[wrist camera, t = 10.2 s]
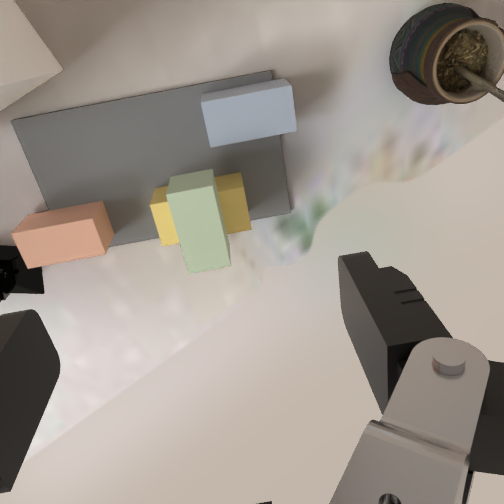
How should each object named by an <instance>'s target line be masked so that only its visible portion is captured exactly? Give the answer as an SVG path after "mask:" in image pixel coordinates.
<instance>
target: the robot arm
mask: <svg viewBox="0 0 504 504" xmlns="http://www.w3.org/2000/svg"><path fill="white" fill-rule="evenodd" d="M338 271H339V284H340V298H341V309H342V314H343V319H344V323H345V326H346V329H347V331H348V334H349V336H350V338H351V341H352V343H353V346H354V348H355V350H356V353H357V355H358V357H359V360H360V362H361V365H362V367H363V369H364V372H365V374H366V377H367V379H368V381H369V384H370V386H371V389H372V391H373V393H374V396H375V398H376V400H377V403H378V405H379V408H380V410H381V413H382V415H383V416H382V418H381V420H380V421H379V422H378V421H376V420H371V421H370V422H369V423H368V424H367V426H366V428H365V430H364V431H363V434H362V436H361V438H360V440H359V442H358V444H357V446H356V448H355V450H354V453H353V455H352V457H351V459H350V461H349V463H348V466H347V468H346V470H345V472H344V474H343V476H342V478H341V480H340V482H339V484H338V486H337V489H336V491H335V493H334V495H333V497H332V499H331V501H330V503H329V504H468V501H469V496H470V492H471V487H472V483H473V478H474V474H475V471H477V472H484V473H491V474H498V475H504V363H501V362H494V361H489V360H487V358H486V357H485V355H484V354H483V353H482V352H481V351H480V350H479V349H477V348H476V347H474V346H473V345H471V344H469V343H467V342H464V341H461V340H458V339H453V337H452V336H451V335H450V333H449V332H448V331H447V329H446V328H445V326H444V325H443V324H442V322H441V321H440V320H439V319H438V317H437V315H436V314H435V313H434V311H433V310H432V309H431V307H430V306H429V305H428V303H427V302H426V301H424V298H423V296H422V295H421V294H420V292H419V291H417V289H416V287H415V285H414V284H413V283H412V281H411V280H410V279H409V277H408V276H407V275H406V274H404V273H402V272H400V271H399V270H397V269H395V268H394V267H392V266H390V267H385V268H378V266H377V265H376V263H375V262H374V260H373V258H372V257H371V255H370V254H369V252H367V251H365V252H360V253H354V254H348V255H343V256H339V257H338ZM59 374H60V360H59V356H58V353H57V351H56V349H55V347H54V345H53V342H52V340H51V338H50V336H49V334H48V332H47V330H46V328H45V326H44V324H43V322H42V320H41V318H40V316H39V314H38V313H37V312H36V311H35V310H32V309H30V310H24V311H19V312H13V313H7V314H2V315H1V316H0V493H5V492H10V491H11V489H12V487H13V484H14V482H15V480H16V477H17V475H18V472H19V470H20V467H21V465H22V463H23V461H24V458H25V456H26V454H27V451H28V449H29V446H30V444H31V442H32V439H33V437H34V435H35V432H36V430H37V427H38V425H39V423H40V420H41V418H42V416H43V413H44V411H45V408H46V406H47V404H48V401H49V399H50V397H51V394H52V392H53V389H54V387H55V385H56V382H57V380H58V377H59ZM259 504H272V501H270V502H264V503H259Z"/></svg>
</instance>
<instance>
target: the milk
mask: <svg viewBox="0 0 504 504" xmlns="http://www.w3.org/2000/svg"><path fill="white" fill-rule="evenodd" d="M61 71H63V69H62V67H61V66H60V64H59V63H58V62H57V60H56V59H55V57H54V56H53V55H52V53H51V52H50V50H49V49H48V48H47V46H46V45H45V43H44V42H43V41H42V39H41V38H40V36H39V35H38V34H37V32H36V31H35V29H34V28H33V27H32V25H31V24H30V22H29V21H28V20H27V18H26V17H25V15H24V14H23V13H22V11H21V10H20V8H19V7H18V6H17V4H16V3H15V1H14V0H0V111H1V110H3V109H4V108H6V107H7V106H9V105H10V104H12V103H13V102H15V101H16V100H18V99H20V98H21V97H23V96H24V95H26V94H27V93H29V92H30V91H32V90H33V89H35V88H36V87H38V86H40V85H41V84H43V83H44V82H46V81H47V80H49V79H50V78H52V77H53V76H55V75H56V74H58V73H60V72H61Z"/></svg>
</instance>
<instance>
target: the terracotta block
mask: <svg viewBox="0 0 504 504" xmlns="http://www.w3.org/2000/svg"><path fill="white" fill-rule="evenodd" d="M11 235H12V237H13V239H14V241H15V243H16V245H17V248H18V250H19V252H20V254H21V256H22V258H23V260H24V262H25V264H26V266H27V268H28V269H30V268H35V267H40V266H46V265H51V264H56V263H62V262H67V261H72V260H77V259H83V258H88V257H93V256H99V255H104V254H106V252H107V250H108V248H109V246H110V243H111V241H112V239H113V236H114V231H113V229H112V226H111V223H110V220H109V217H108V215H107V212H106V209H105V206H104V204H103V201H98V202H93V203H87V204H82V205H77V206H72V207H66V208H61V209H56V210H51V211H45V212H40V213H35V214H30V215H27V217H26V218H25V219H24V220H23V221H22V222H21V223H20V224H19V225H18V227H17V228H16V229H15V230H14V231H13V232H12V233H11Z"/></svg>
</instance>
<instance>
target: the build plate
mask: <svg viewBox="0 0 504 504" xmlns="http://www.w3.org/2000/svg"><path fill="white" fill-rule="evenodd" d="M10 293H28V294H44V284H43V276H42V268H41V266H40V267H35V268H30V269H28V268H27V266H26V264H25V262H24V260H23V258H22V256H21V254H20V252H19V250H18V248H17V246H3V245H0V302H1V300H5V299H6V298H7V297H8V295H9V294H10Z"/></svg>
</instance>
